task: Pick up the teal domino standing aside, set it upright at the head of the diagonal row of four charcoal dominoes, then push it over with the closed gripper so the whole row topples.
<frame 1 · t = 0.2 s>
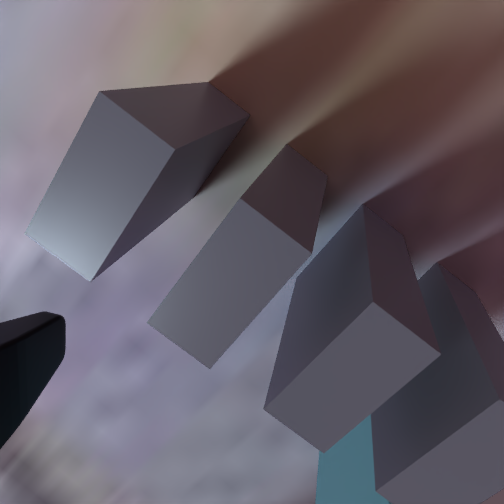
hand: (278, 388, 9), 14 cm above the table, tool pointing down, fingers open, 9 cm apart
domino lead: (364, 432, 26), on the table
domino 3: (347, 257, 23), on the table
domino 2: (418, 312, 23), on the table
domino 5: (199, 143, 22), on the table
domino 4: (274, 201, 22), on the table
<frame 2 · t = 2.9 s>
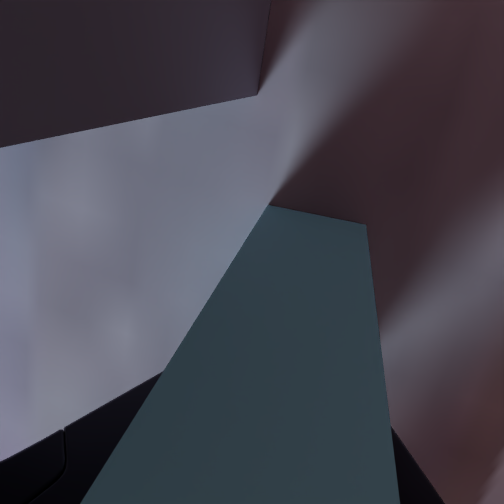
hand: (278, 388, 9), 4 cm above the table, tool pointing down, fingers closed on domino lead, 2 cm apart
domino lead: (296, 304, 12), on the table, touching gripper
when the fingers open (5 cm above the table, at t = 6.5 s): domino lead drops 2 cm, on the table.
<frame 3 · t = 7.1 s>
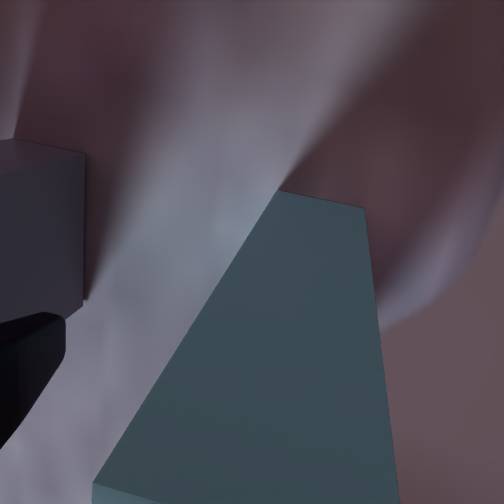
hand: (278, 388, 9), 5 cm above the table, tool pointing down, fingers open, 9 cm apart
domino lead: (301, 281, 14), on the table
domino 2: (49, 226, 14), on the table
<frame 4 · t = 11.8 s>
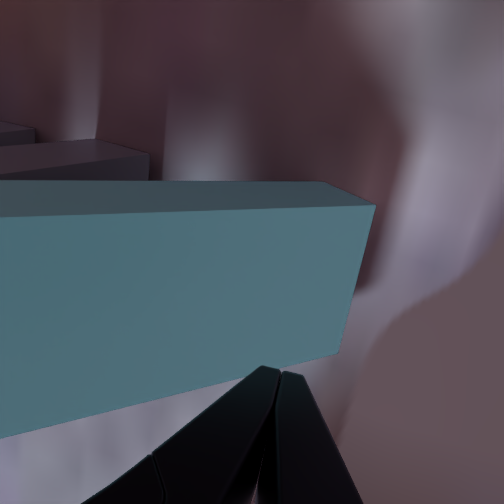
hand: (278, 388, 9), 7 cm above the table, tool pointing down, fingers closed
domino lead: (330, 267, 15), point 1 cm above the table, tilted 48°
domino 3: (9, 191, 17), on the table, tilted 5°, touching domino 2
domino 2: (118, 217, 16), on the table, tilted 17°, touching domino 3
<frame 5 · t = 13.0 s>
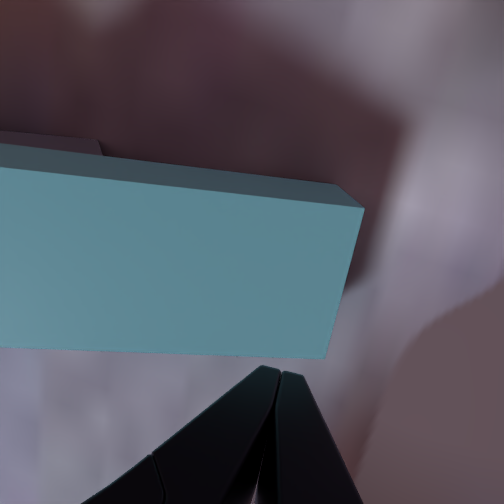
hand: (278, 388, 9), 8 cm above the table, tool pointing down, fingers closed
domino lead: (330, 271, 15), point 1 cm above the table, tilted 69°, touching domino 2
domino 2: (97, 220, 16), point 1 cm above the table, tilted 58°, touching domino 3, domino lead
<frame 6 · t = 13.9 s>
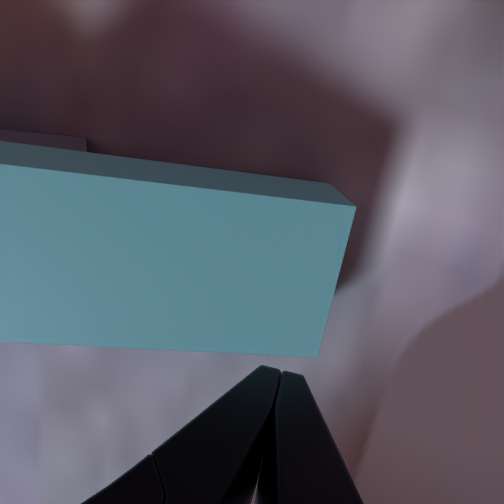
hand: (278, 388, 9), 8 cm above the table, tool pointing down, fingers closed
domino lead: (323, 269, 15), point 1 cm above the table, tilted 70°, touching domino 2
domino 2: (84, 218, 16), point 1 cm above the table, tilted 60°, touching domino 3, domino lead
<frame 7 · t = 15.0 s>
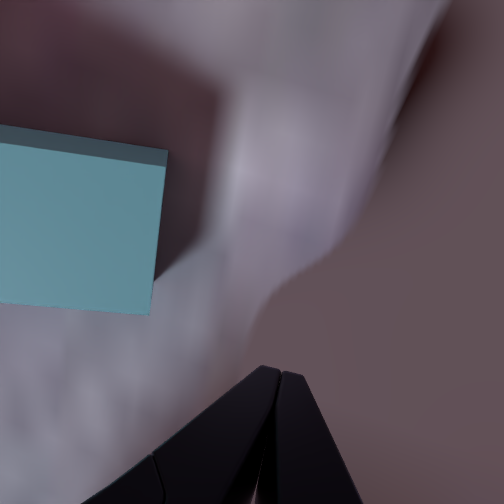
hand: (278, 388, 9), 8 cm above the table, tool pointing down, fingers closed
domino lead: (158, 232, 15), point 1 cm above the table, tilted 71°, touching domino 2
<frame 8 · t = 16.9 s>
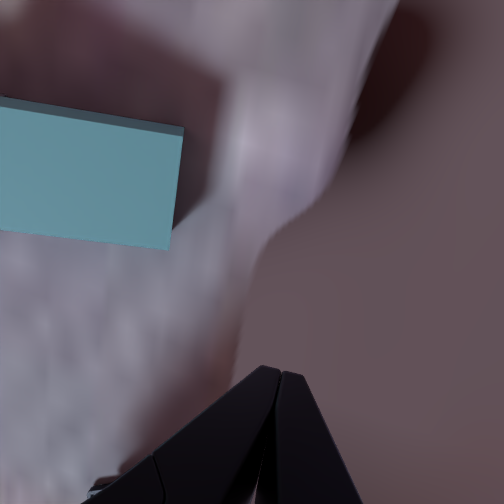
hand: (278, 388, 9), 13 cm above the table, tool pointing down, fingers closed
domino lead: (176, 188, 21), point 1 cm above the table, tilted 72°
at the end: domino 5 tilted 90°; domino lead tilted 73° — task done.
